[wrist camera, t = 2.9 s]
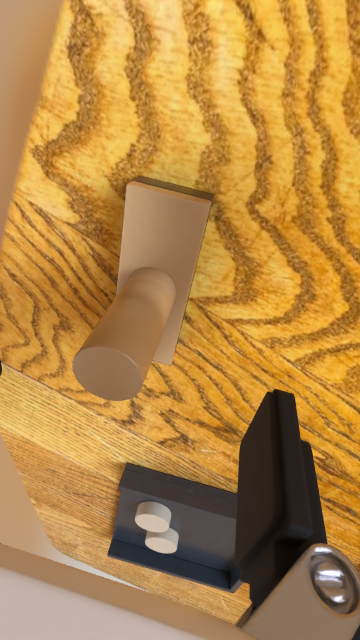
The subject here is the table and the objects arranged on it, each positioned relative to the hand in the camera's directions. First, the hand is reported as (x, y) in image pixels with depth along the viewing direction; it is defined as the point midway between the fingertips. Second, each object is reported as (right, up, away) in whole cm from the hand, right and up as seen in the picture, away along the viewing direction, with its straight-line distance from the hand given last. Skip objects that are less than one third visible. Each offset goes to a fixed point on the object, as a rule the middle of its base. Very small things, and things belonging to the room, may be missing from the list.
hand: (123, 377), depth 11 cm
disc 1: (-1, -16, +19) cm, 25 cm away
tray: (+3, -18, +21) cm, 28 cm away
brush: (+1, +4, +6) cm, 8 cm away
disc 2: (0, -20, +22) cm, 29 cm away
